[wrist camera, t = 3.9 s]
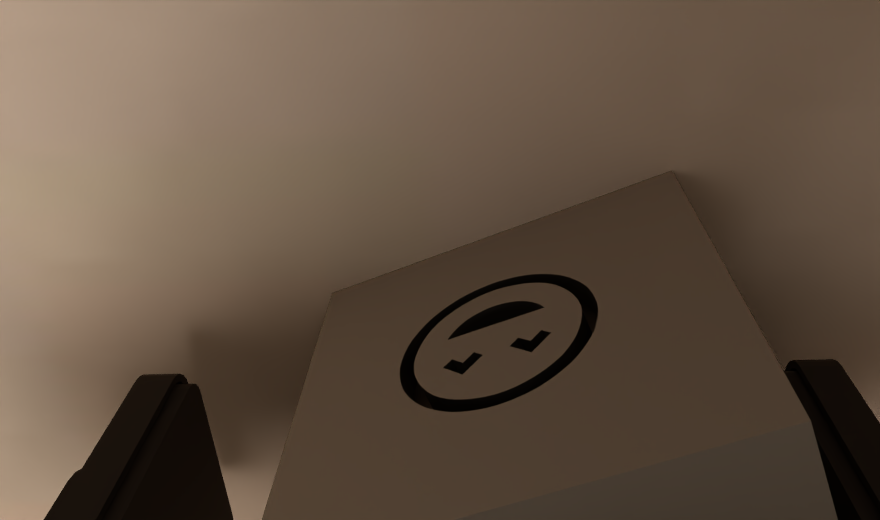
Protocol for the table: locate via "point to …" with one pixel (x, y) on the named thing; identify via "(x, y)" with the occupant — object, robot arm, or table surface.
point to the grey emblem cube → (553, 383)
